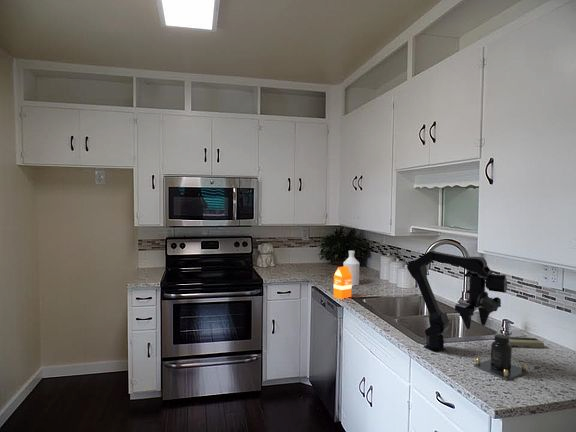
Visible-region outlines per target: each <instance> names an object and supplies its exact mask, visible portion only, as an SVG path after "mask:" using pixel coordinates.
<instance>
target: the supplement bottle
mask: <svg viewBox="0 0 576 432" xmlns="http://www.w3.org/2000/svg"><path fill="white" fill-rule="evenodd" d="M509 337H510V336H507V335H504V334H501V333H500V334H499V333H498V334H495V335H494V341H492V342H491V344H490V359H491V366H492V367H493V368H494V369H497V370H501V371H504V369H507V370H508V371H509V370H510V369H511V364H512V355H513V354H512V351H513V349H512V347H511V345H510V344H508V343H509Z"/></svg>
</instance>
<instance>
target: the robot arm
mask: <svg viewBox="0 0 576 432" xmlns="http://www.w3.org/2000/svg"><path fill="white" fill-rule="evenodd" d="M432 262H438V263H442V264H448V265H451V266H456V267H460V268H462V269H464V270H466V271H467V272H466V273H464V274H463V277H467V278H468V279H469V283H468V289H467V290H466V293H467V294H468V299H466V300H465V301H466V303H465V302H460V303H456V304H455V305H454V311H455V312H457V313H458V314H459V316H460V317H461V319H462V321H463V323H464V326H465V328H466V329H468V330H470V328H471V323H472V317H473V316H475V313H474V312H475V310H476V309H478V313H479V318H480V324H481V326H483V327H485V326H486V324H487V321H488V318H489V316H490V314H491V313H493V312H497V311H498V309H499V308H501V307H502V305H501V304H502V301H501V298H500V297H498V296H496V297H489V293H488V291H490V292H494V293H495V292H496V293H503V294H504V293H505V294H506V293H507V290H508V280H507V275H506V274H497V273H496V274H495V273H493V272H492V270H491V269H490V267H489V266H488V263H487V262H488V261H487V260H486V259H485V258H484V257H482V256H460V255H456V254H450V253H444V252H440V251H435V250H430V251H427V252H426V253H425V254H423V255H422V256H420V257H418V258H417V259H414V260H410V261H409V262H408V263H407V266H406V267H407V270H408V272H409V274H410V276H411V277H412V279H414V281H416V283H417V286H418V288H419V291H420V294H421V296H422V298H423V301H424V304H425V307H426V309H427V311H428V321H429V326H428V328H426V329H425V330H424V333H425V336H426V343H425V345H423V348H426V349H428V350H430V351H432V352H435V353H437V352H441V351H444V350H446V347H445V345H444V344H445V342H444V341H445V340H444V335H443V334H444V333H445V331H447V330H448V329H449V327H450V319H449V317H448V314H447V312H446V311H445V312H443V311H441V309H440V307H439V305H438V302H437V299H436V297H435V295H434V293H433V292H434V291H433V290H432V288H431V284H430V282H429V280H428V270H427V266H428V265H429V264H431V263H432ZM486 289H487V290H488V291H486Z"/></svg>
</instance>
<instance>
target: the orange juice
mask: <svg viewBox="0 0 576 432" xmlns="http://www.w3.org/2000/svg"><path fill="white" fill-rule="evenodd" d="M352 287H353V286H352V275H351V273H350V271H349V268H348V266H344V267H343V266H338V267H337V269H336V270H335V273H334V275H333V298H335V299H339V300H344V298H346V299H349V298H348V297H351V298H352V289H353V288H352Z"/></svg>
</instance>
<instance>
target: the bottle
mask: <svg viewBox="0 0 576 432" xmlns="http://www.w3.org/2000/svg"><path fill="white" fill-rule="evenodd" d="M355 251H356V250H348V258H346V259H345V260H344V261H343V263H342V264H343V266H342V267H344V266H348V268H349V271H350V273H351V275H352V287H355V286H354V285H358V286H359V284H360V266H361V265H360V262H359V260H357V259H356V257H355V254H356V253H355Z"/></svg>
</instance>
